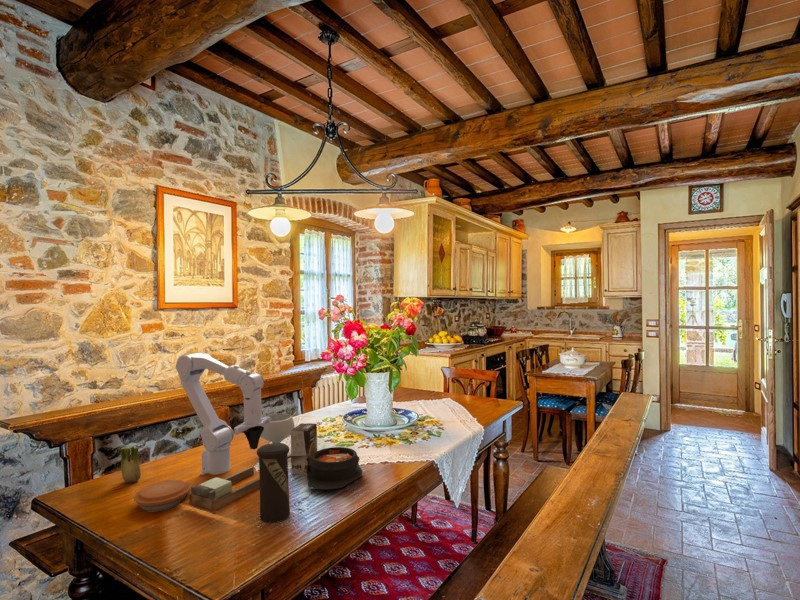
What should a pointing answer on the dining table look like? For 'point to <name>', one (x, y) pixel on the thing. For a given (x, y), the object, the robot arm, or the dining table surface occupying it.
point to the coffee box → (303, 447)
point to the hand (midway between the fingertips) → (253, 448)
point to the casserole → (333, 468)
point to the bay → (208, 500)
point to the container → (274, 482)
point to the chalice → (278, 428)
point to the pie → (162, 495)
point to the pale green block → (218, 486)
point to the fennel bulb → (130, 464)
